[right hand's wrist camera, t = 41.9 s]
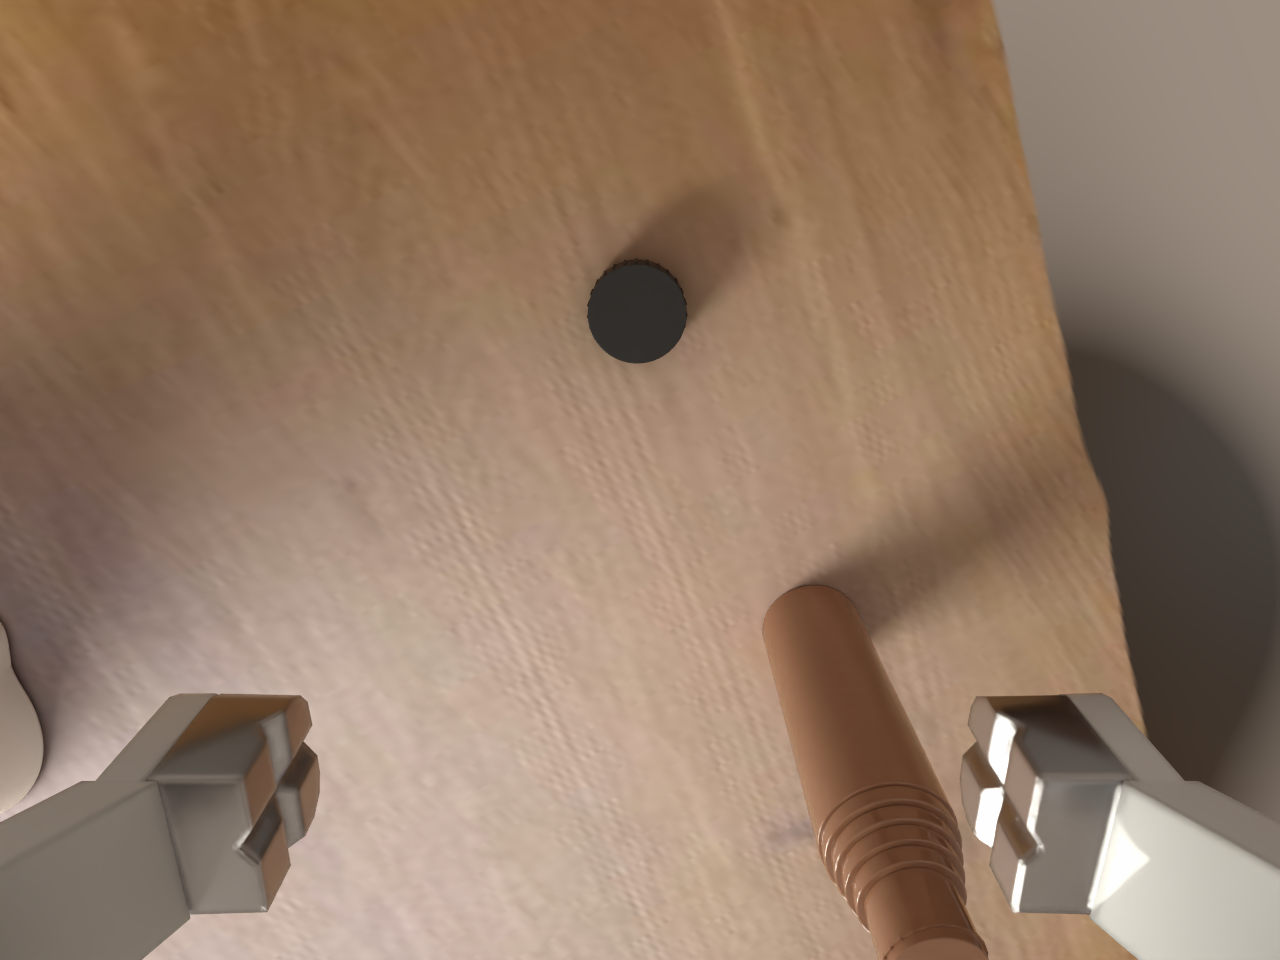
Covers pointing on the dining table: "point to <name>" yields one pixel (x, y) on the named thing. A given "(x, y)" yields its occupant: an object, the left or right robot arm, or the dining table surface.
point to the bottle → (868, 782)
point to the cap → (637, 311)
